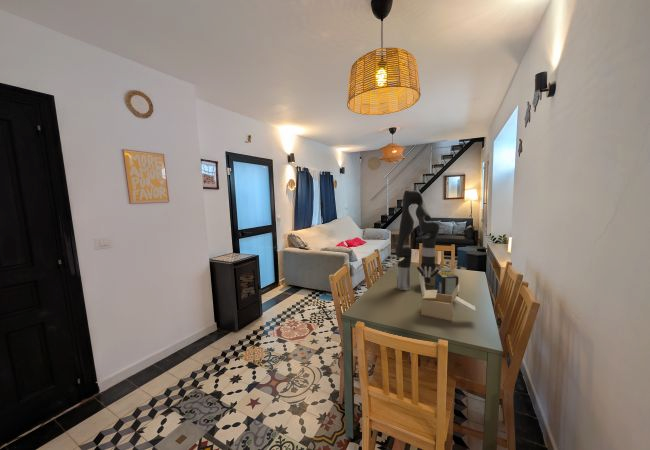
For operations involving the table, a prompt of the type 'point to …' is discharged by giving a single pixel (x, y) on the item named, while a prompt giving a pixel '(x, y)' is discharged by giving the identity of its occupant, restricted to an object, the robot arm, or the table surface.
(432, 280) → the plant pot
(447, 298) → the carton
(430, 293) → the flap left
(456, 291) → the flap right
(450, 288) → the protein box
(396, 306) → the table surface
